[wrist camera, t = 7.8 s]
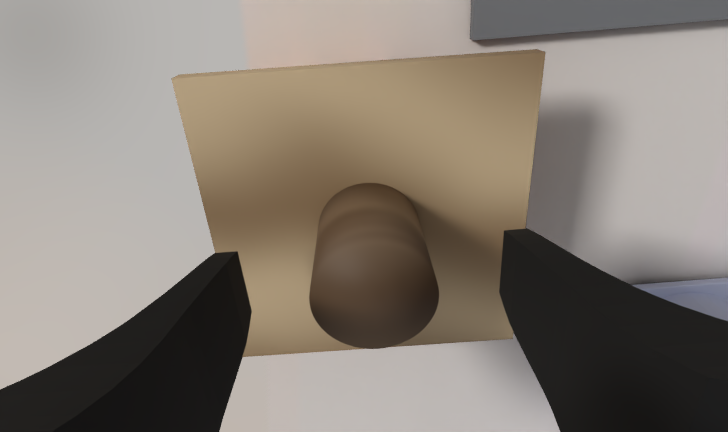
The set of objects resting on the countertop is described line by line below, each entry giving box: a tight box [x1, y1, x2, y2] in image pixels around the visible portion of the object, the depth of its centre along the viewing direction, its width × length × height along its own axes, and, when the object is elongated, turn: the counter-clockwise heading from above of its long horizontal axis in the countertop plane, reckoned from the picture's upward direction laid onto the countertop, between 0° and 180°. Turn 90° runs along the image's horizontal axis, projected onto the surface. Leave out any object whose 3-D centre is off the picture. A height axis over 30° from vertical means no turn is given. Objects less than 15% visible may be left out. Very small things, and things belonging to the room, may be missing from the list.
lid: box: [172, 49, 545, 357], centre depth 13 cm, size 10×10×4 cm
